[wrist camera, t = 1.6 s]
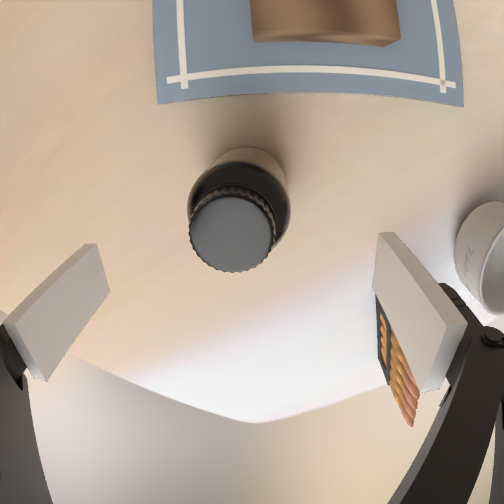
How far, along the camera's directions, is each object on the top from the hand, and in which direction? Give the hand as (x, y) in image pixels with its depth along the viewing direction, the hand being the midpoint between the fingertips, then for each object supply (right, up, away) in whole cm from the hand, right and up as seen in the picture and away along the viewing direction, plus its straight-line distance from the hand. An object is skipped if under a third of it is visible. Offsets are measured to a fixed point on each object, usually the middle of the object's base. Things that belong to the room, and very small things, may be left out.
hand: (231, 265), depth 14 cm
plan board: (+6, +23, +6) cm, 25 cm away
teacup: (+28, +1, +15) cm, 32 cm away
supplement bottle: (0, +7, +14) cm, 16 cm away
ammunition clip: (+17, -8, +20) cm, 27 cm away
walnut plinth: (+6, +23, +5) cm, 24 cm away
